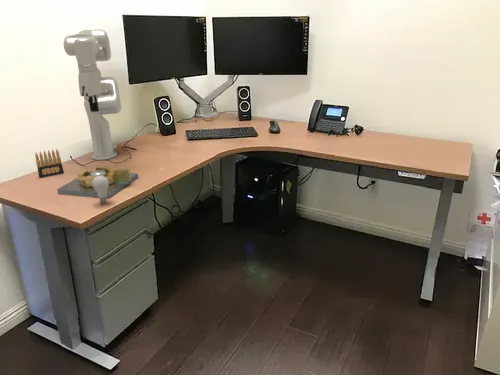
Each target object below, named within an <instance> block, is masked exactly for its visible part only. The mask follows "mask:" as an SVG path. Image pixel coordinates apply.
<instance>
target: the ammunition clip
mask: <svg viewBox="0 0 500 375" xmlns="http://www.w3.org/2000/svg"><path fill="white" fill-rule="evenodd" d="M34 154H35V155H34V156H35V157H34V158H35V162H36V167H37V168H36V169H37V172H38V173H37V174H38V178H39V179H42V178H47V177H52V176H59V175H63V174H65V172H64V167H63V163H62V159H61V155H60V152H59V150H58V148H56V149H55V150H54V149H52V150H51V152H50V149H49V150H47V153H46V151H45V150H44V151H43V153H42V152H41V151H39V154H38V153H37V152H35V153H34Z"/></svg>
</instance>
